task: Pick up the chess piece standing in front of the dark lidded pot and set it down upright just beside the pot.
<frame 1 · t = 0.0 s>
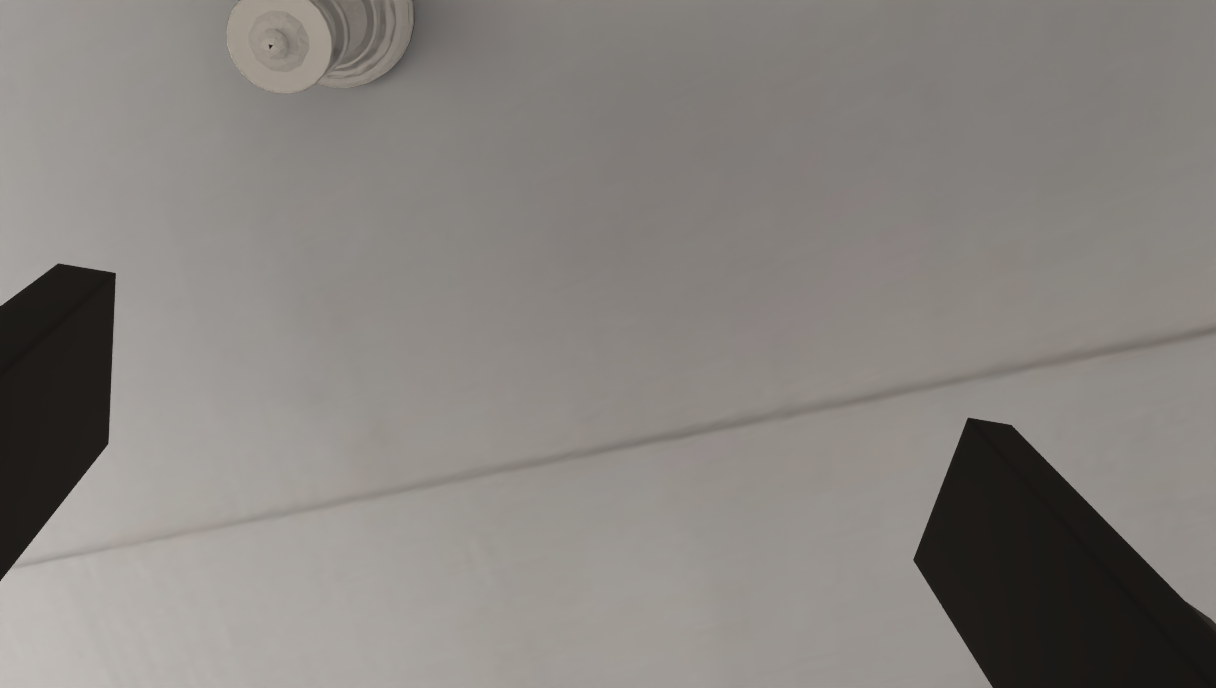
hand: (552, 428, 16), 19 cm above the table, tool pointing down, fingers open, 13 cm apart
chess piece: (344, 9, 31), on the table
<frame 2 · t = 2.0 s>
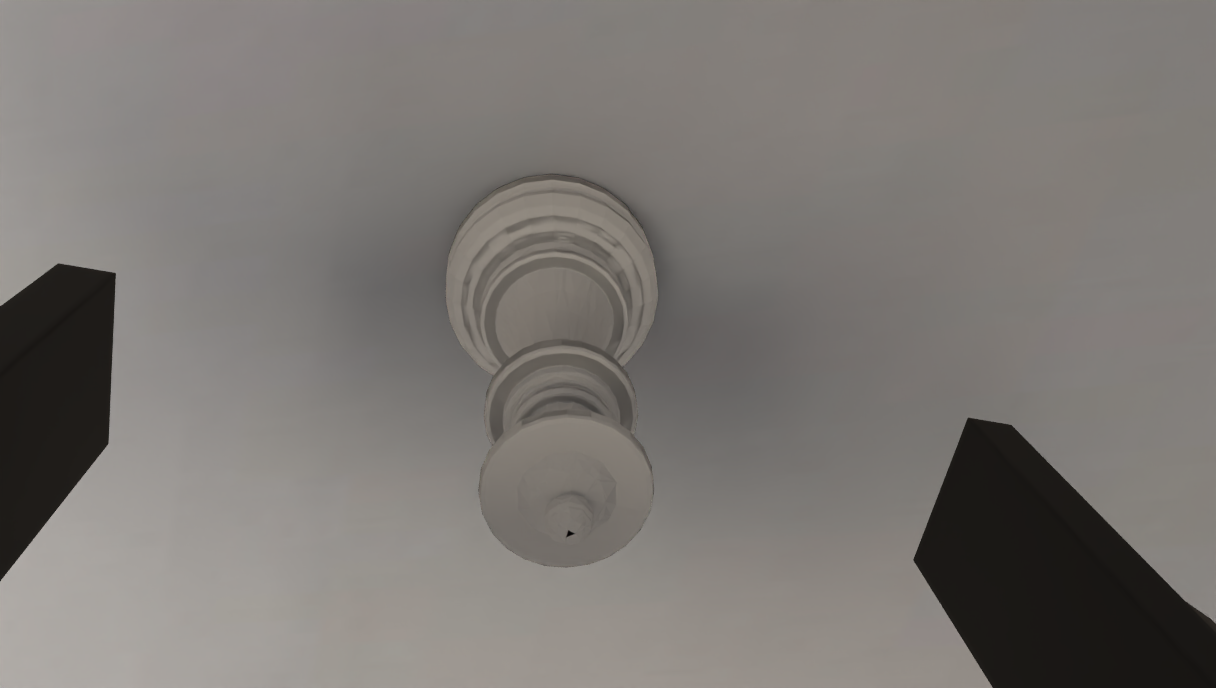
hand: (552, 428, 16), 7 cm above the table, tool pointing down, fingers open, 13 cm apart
chess piece: (550, 269, 22), on the table
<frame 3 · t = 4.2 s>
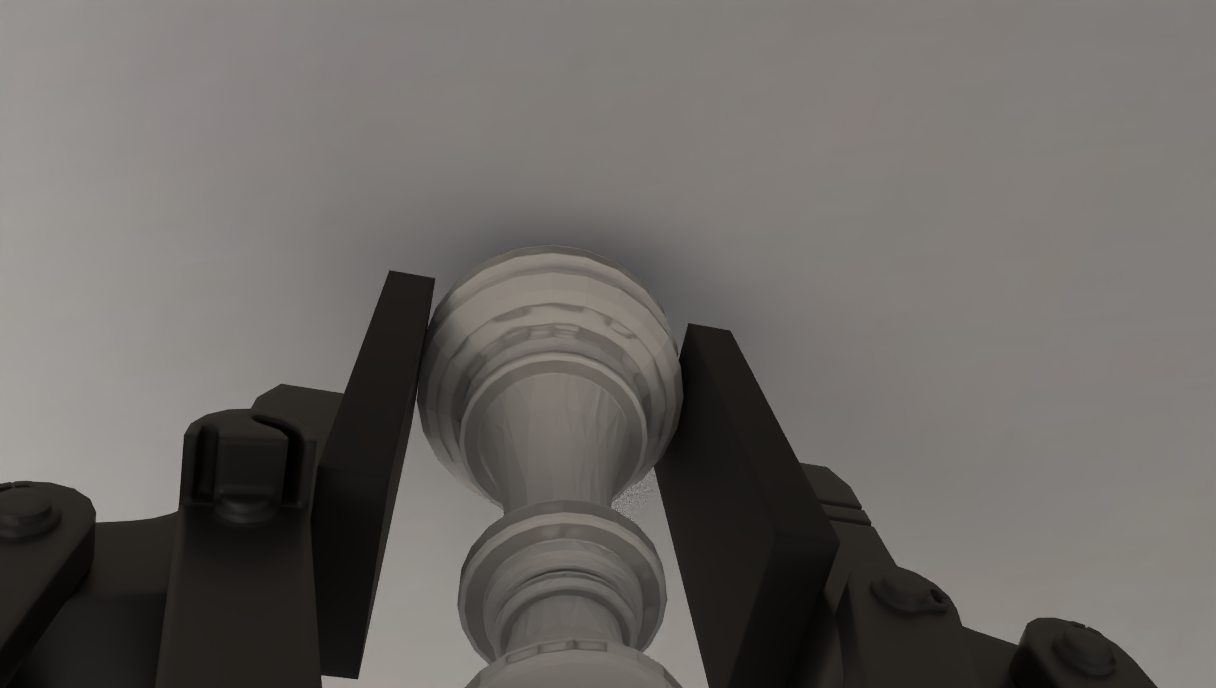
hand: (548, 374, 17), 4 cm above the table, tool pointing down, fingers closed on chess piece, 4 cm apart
chess piece: (549, 357, 18), point 4 cm above the table, touching gripper
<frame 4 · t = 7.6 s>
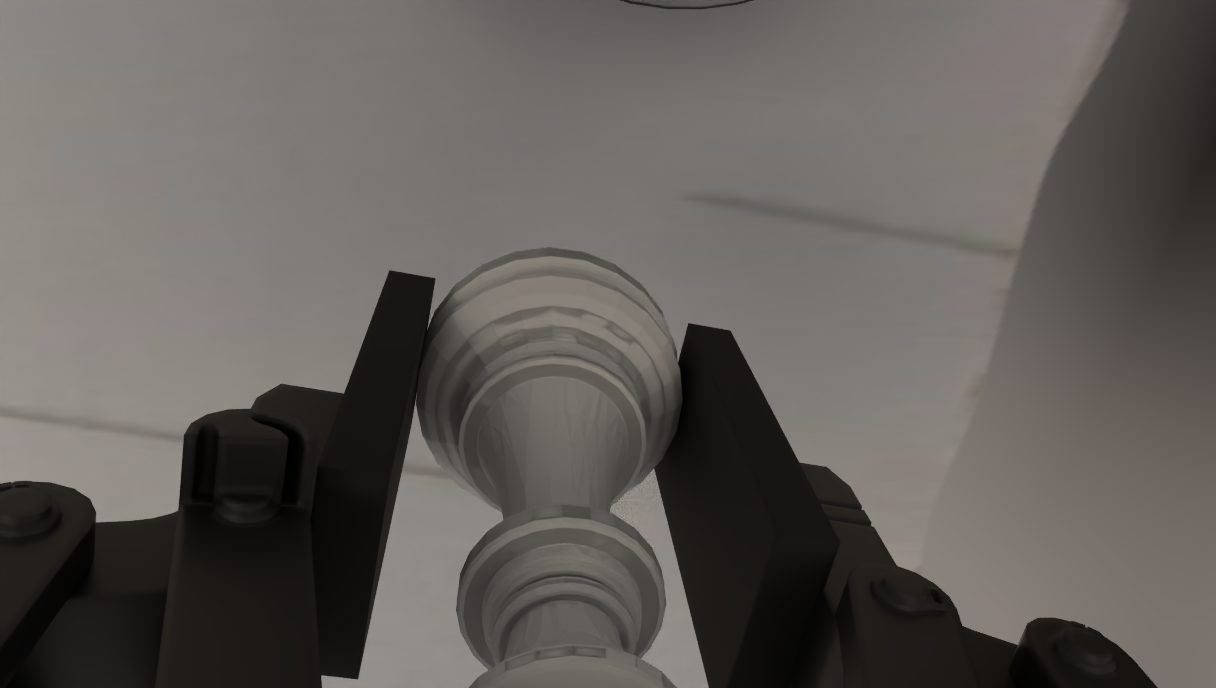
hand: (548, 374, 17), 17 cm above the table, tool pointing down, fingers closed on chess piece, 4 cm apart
chess piece: (548, 360, 18), point 17 cm above the table, touching gripper
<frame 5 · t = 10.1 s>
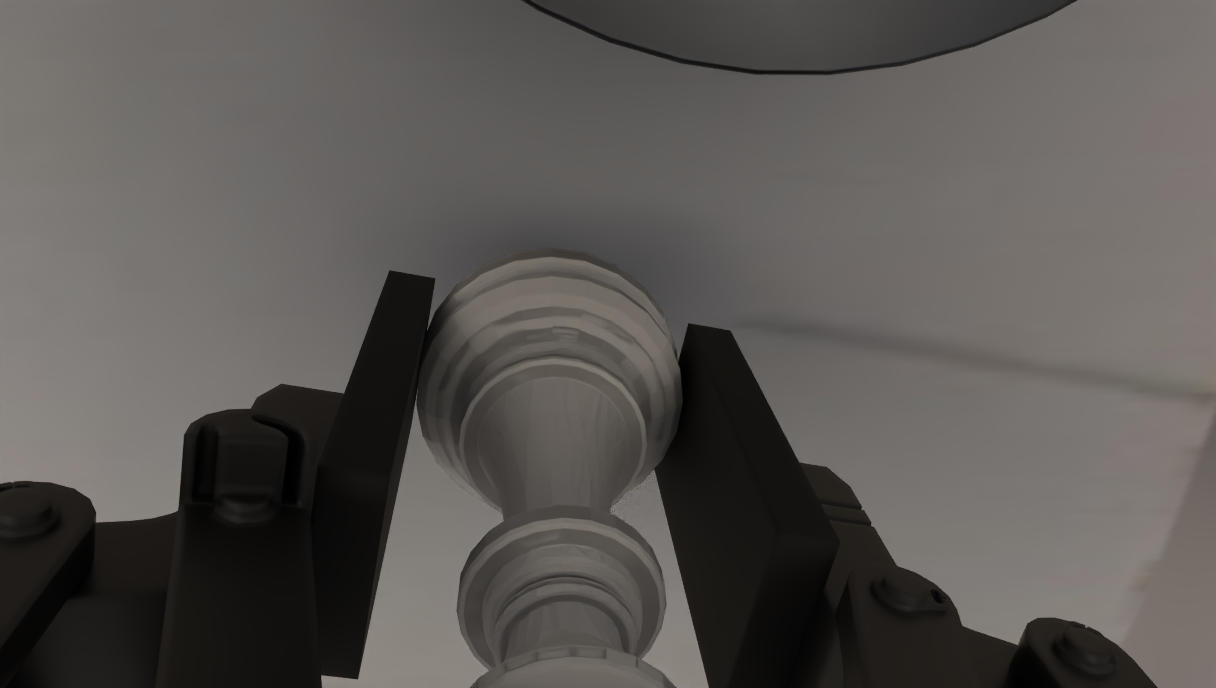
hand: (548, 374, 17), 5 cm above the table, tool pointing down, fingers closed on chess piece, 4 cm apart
chess piece: (548, 361, 18), point 5 cm above the table, touching gripper
when the fingers open (0 cm above the table, at t = 11.4 s): chess piece stays where it is, on the table.
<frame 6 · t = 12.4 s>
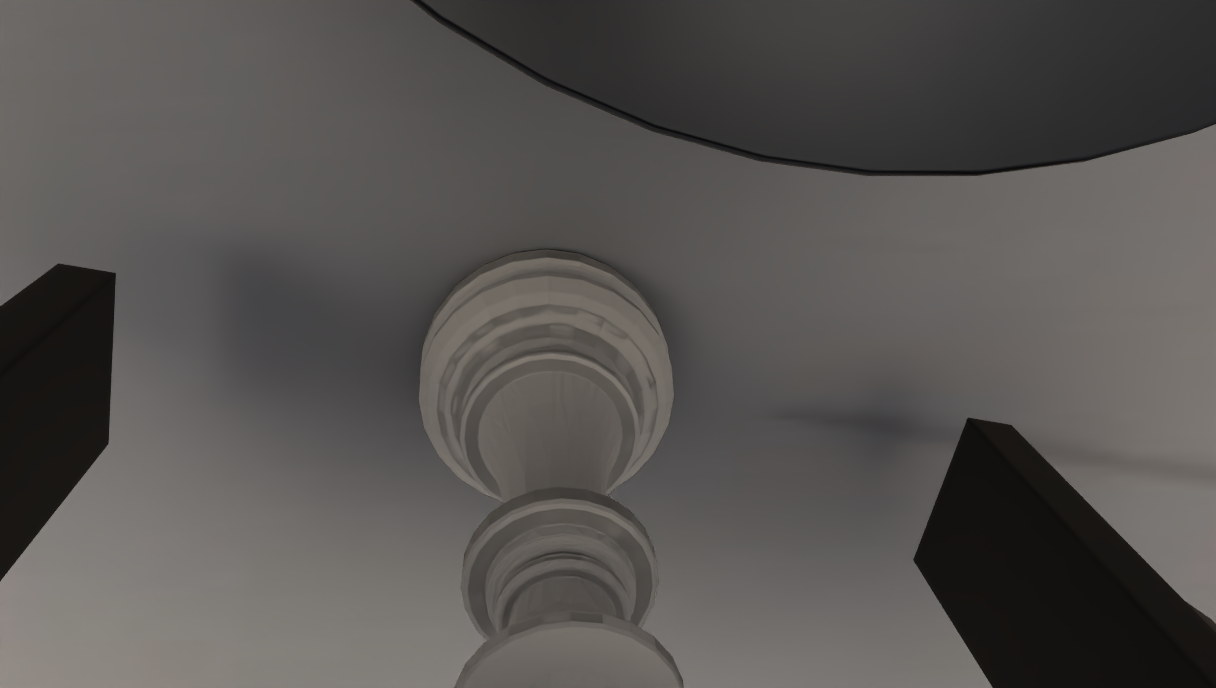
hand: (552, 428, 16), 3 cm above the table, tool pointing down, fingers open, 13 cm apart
chess piece: (545, 358, 19), on the table
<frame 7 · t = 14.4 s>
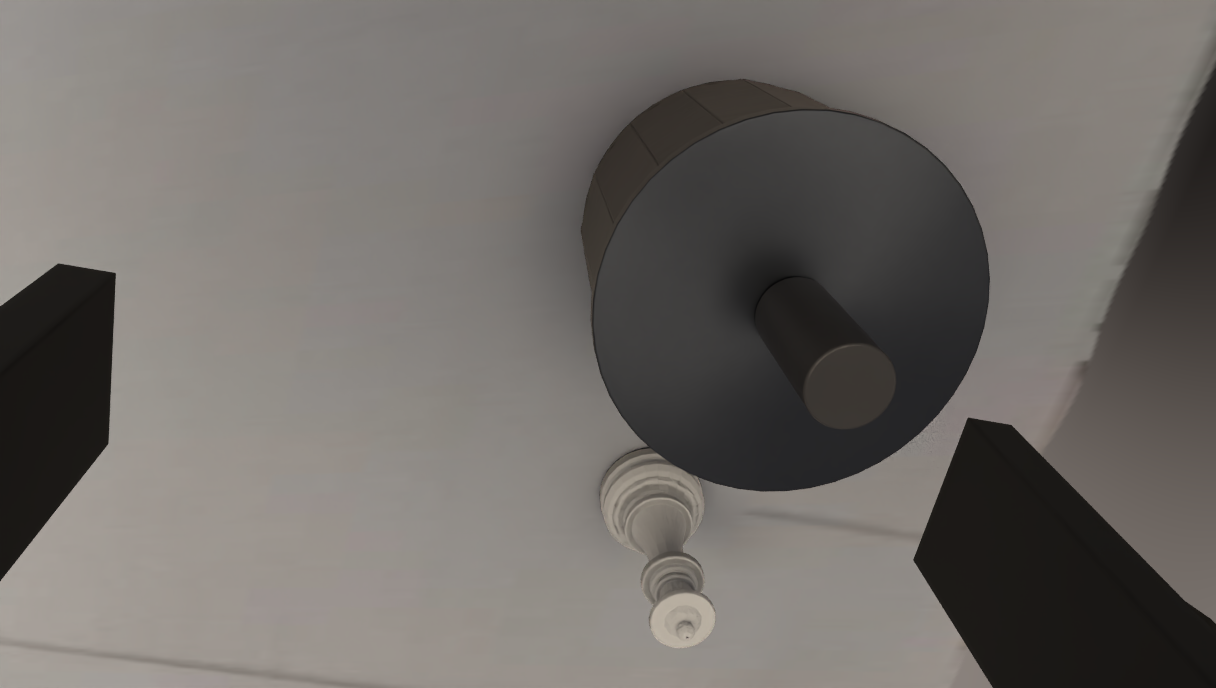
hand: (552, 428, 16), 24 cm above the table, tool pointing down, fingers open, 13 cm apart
chess piece: (649, 489, 44), on the table
pot lid: (788, 307, 31), point 9 cm above the table, touching pot
pot: (726, 228, 40), on the table
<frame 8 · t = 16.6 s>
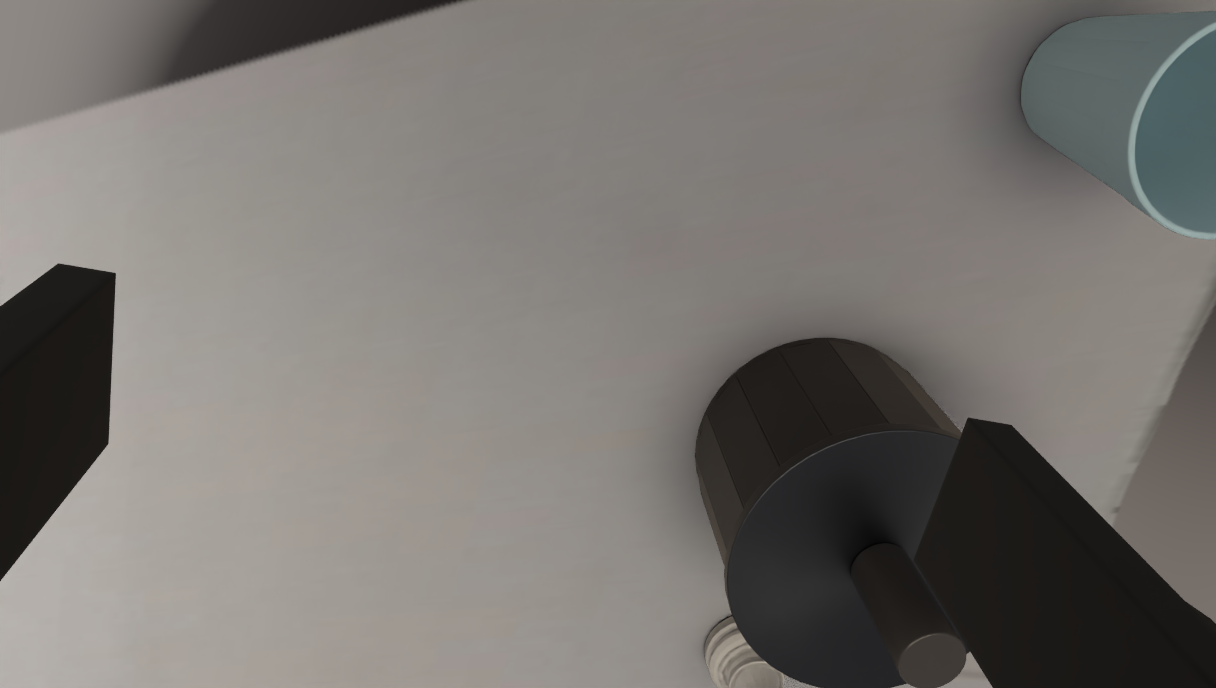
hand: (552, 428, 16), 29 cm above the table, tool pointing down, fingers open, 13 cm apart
chess piece: (744, 643, 54), on the table
pot lid: (875, 559, 40), point 9 cm above the table, touching pot
cup: (1079, 83, 44), on the table
pot: (811, 446, 49), on the table
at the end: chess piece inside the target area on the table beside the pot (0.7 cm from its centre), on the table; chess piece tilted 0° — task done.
